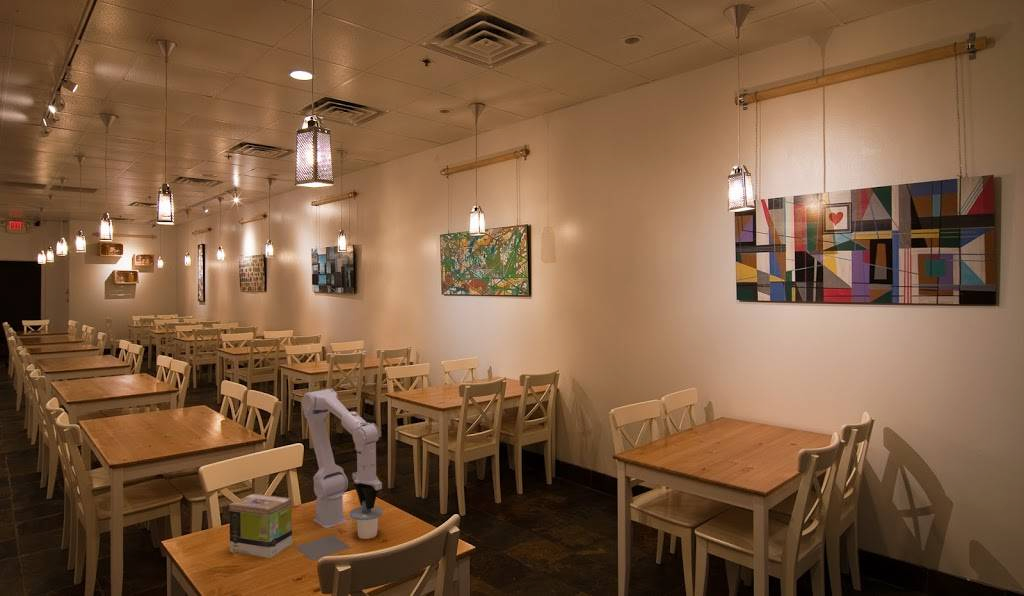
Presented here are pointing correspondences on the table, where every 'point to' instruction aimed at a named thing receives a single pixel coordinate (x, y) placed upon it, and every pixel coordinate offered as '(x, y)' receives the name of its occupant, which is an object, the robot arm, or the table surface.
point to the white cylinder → (367, 528)
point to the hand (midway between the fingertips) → (367, 506)
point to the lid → (365, 512)
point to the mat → (322, 547)
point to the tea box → (260, 525)
